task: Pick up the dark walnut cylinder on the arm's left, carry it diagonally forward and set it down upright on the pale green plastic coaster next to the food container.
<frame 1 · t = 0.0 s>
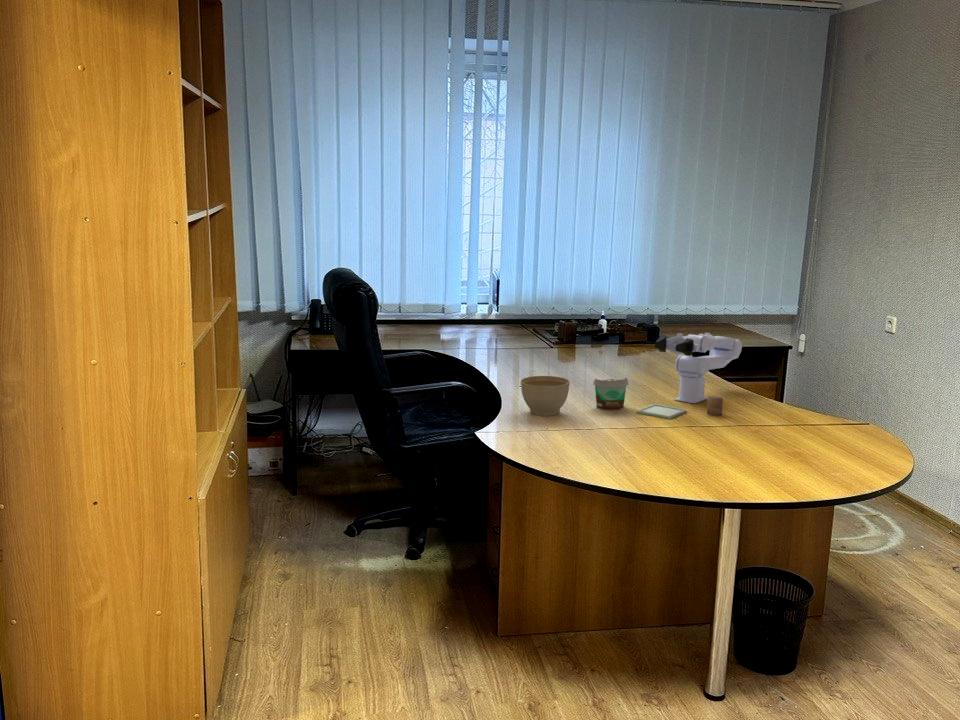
hand: (666, 346, 292), 22 cm above the table, tool horizontal, fingers open, 7 cm apart
food container: (612, 409, 298), on the table
planter bowl: (544, 413, 292), on the table
coaster: (661, 412, 293), on the table
walnut cylinder: (714, 413, 292), on the table
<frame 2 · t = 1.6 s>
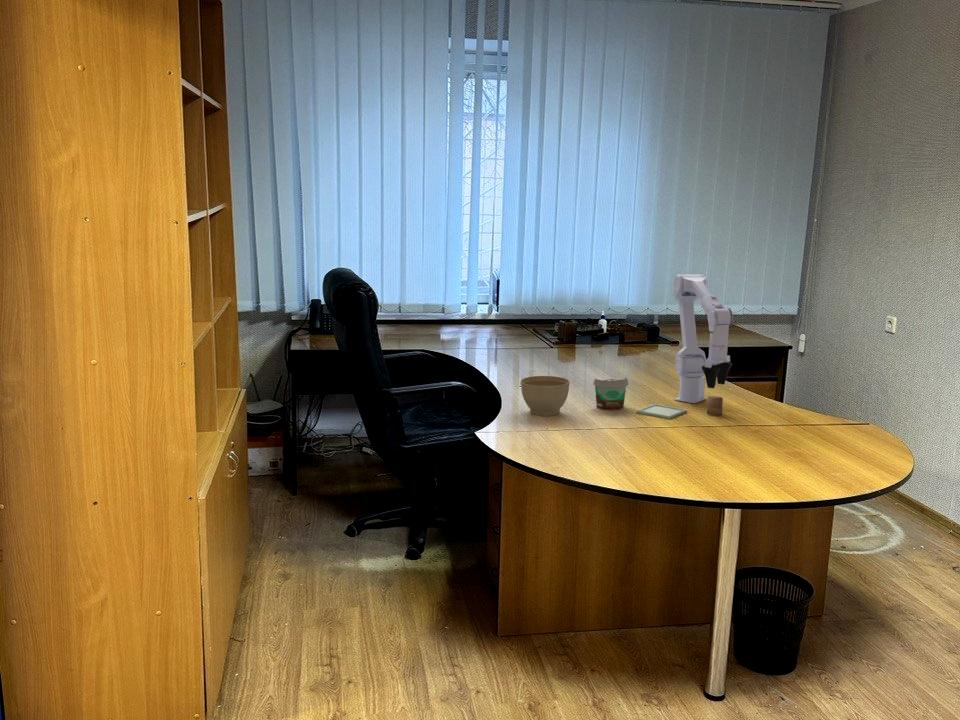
hand: (716, 385, 290), 9 cm above the table, tool pointing down, fingers open, 7 cm apart
nothing on the table moved.
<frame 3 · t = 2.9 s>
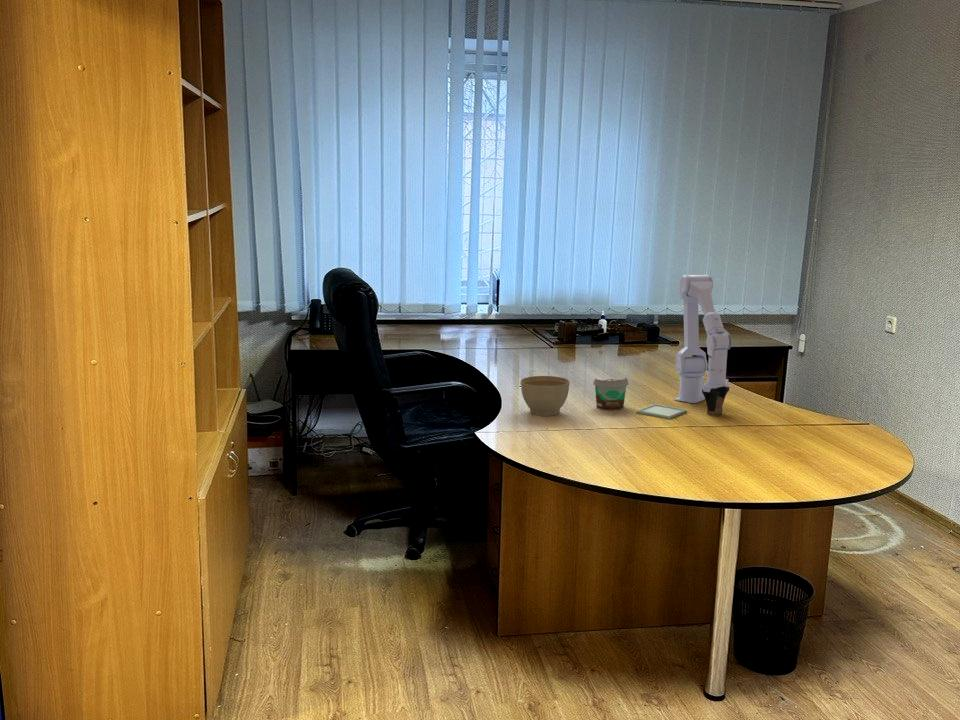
hand: (714, 409, 292), 1 cm above the table, tool pointing down, fingers closed on walnut cylinder, 5 cm apart
walnut cylinder: (714, 413, 292), on the table, touching gripper
everything else where it was.
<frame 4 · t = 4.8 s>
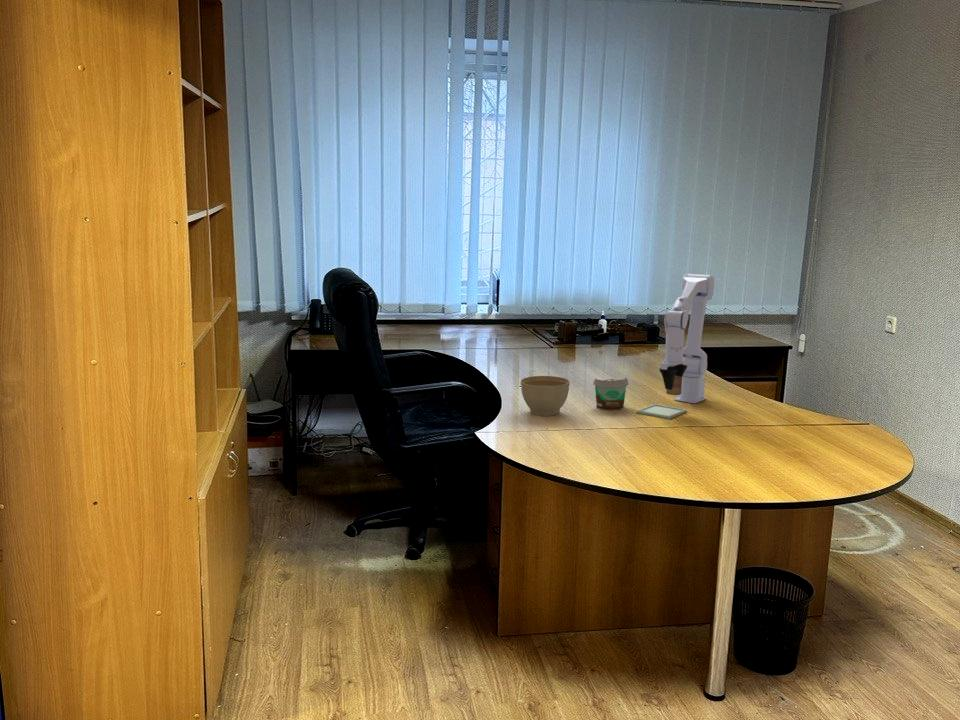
hand: (672, 387, 291), 8 cm above the table, tool pointing down, fingers closed on walnut cylinder, 5 cm apart
walnut cylinder: (673, 393, 291), point 7 cm above the table, touching gripper
everything else where it was.
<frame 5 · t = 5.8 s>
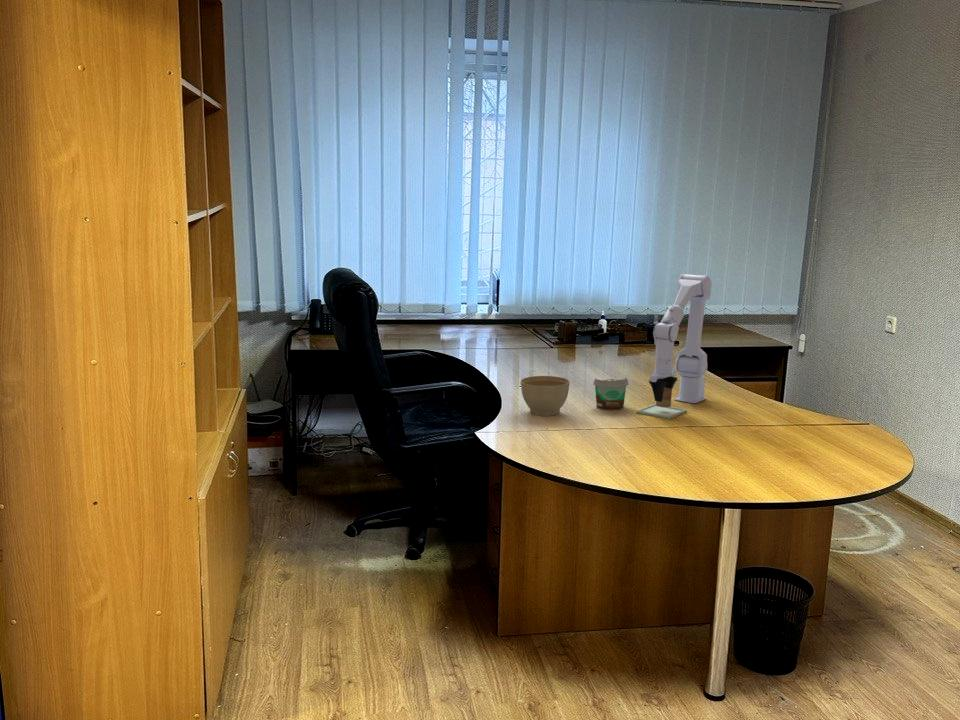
hand: (662, 399, 292), 4 cm above the table, tool pointing down, fingers closed on walnut cylinder, 5 cm apart
walnut cylinder: (663, 405, 292), point 3 cm above the table, touching gripper
everything else where it was.
when the fingers open (3 cm above the table, at t = 6.6 s): walnut cylinder stays where it is, resting on coaster.
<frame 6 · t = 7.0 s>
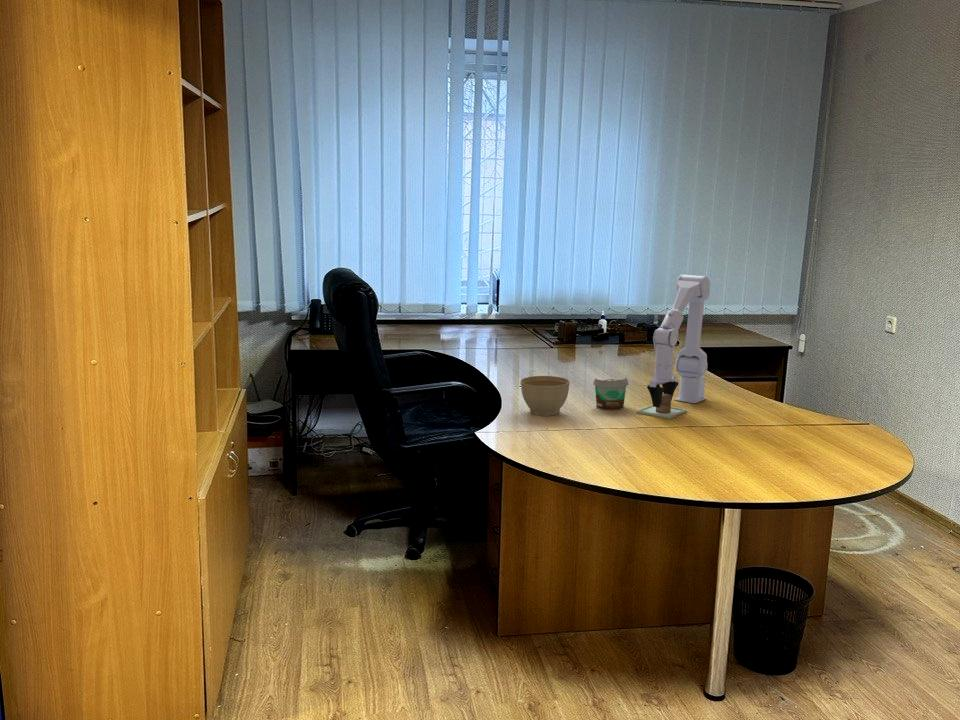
hand: (661, 404, 293), 3 cm above the table, tool pointing down, fingers open, 7 cm apart
walnut cylinder: (663, 411, 293), resting on coaster
everything else where it was.
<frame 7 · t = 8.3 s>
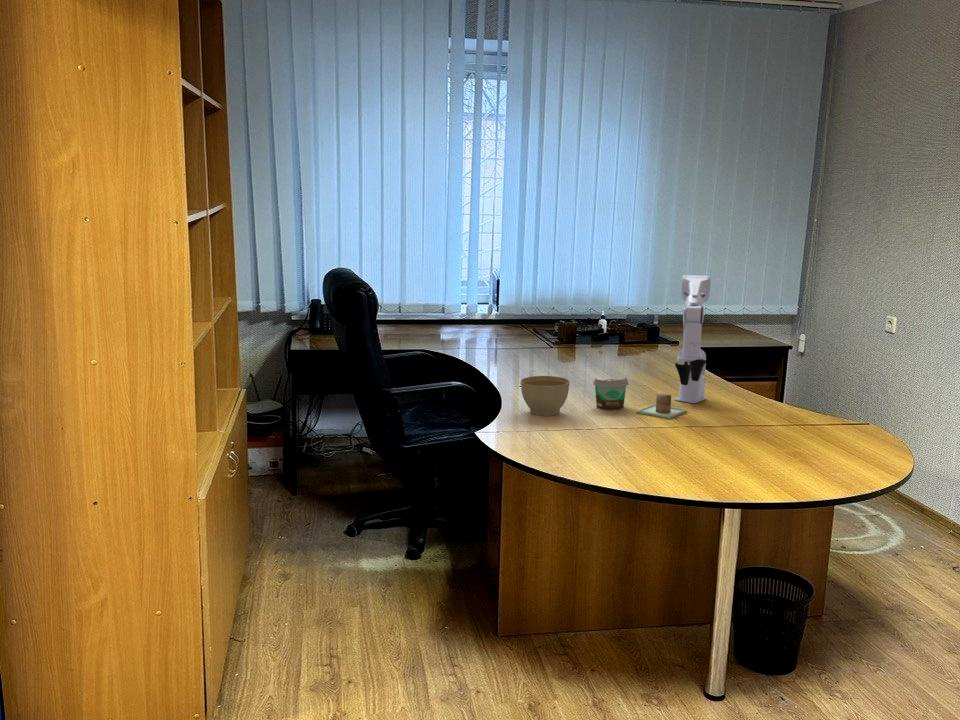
hand: (689, 382, 293), 10 cm above the table, tool pointing down, fingers open, 7 cm apart
nothing on the table moved.
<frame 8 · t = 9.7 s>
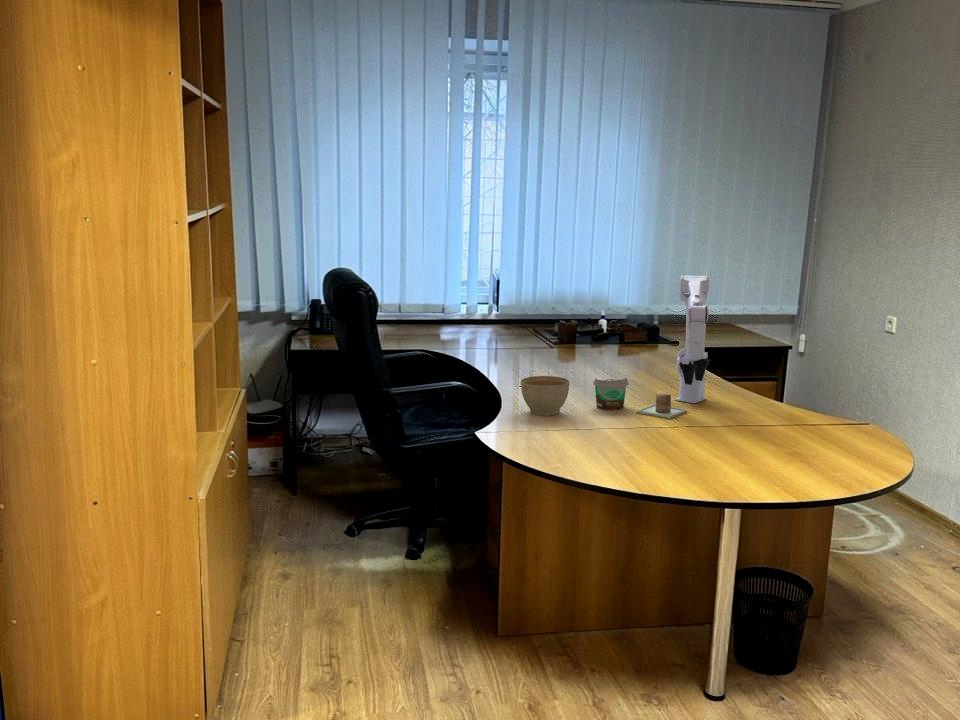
hand: (693, 382, 293), 10 cm above the table, tool pointing down, fingers open, 7 cm apart
nothing on the table moved.
at the end: walnut cylinder inside the target area on the coaster (0.6 cm from its centre), point 0.5 cm above the coaster's base; walnut cylinder tilted 2°; the gripper is holding nothing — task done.
